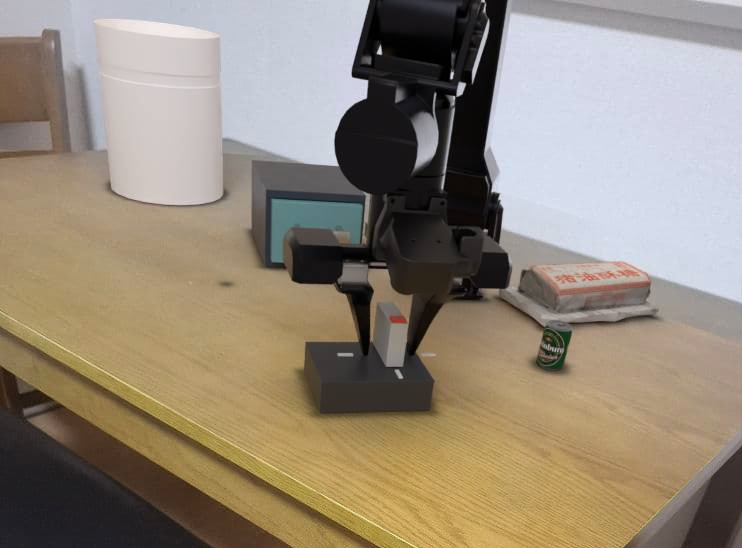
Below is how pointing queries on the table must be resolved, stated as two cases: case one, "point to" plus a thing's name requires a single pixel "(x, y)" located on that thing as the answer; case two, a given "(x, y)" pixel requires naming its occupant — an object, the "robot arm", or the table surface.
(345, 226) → the drawer
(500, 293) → the packaged product
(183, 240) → the table surface
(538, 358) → the beer can
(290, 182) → the cabinet
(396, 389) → the dial panel
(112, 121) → the canister
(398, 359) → the dial
